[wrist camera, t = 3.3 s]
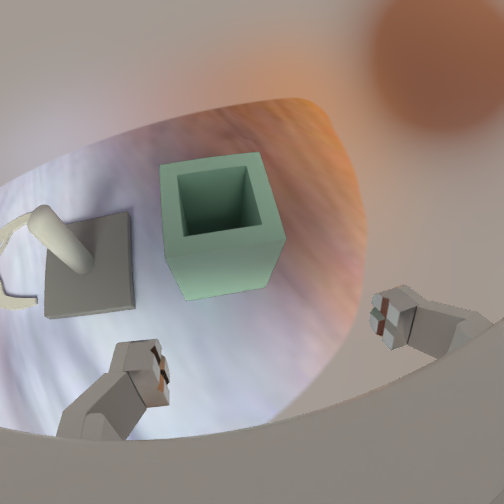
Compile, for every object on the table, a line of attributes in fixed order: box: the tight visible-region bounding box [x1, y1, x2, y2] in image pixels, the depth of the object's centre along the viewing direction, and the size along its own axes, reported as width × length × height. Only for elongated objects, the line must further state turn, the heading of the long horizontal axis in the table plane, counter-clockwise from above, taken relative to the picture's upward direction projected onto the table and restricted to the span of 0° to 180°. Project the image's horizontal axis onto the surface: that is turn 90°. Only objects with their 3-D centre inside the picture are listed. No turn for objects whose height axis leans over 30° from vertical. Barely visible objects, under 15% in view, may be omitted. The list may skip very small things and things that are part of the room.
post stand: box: [28, 205, 135, 319], centre depth 17 cm, size 8×8×8 cm
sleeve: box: [159, 152, 286, 301], centre depth 19 cm, size 6×6×8 cm
